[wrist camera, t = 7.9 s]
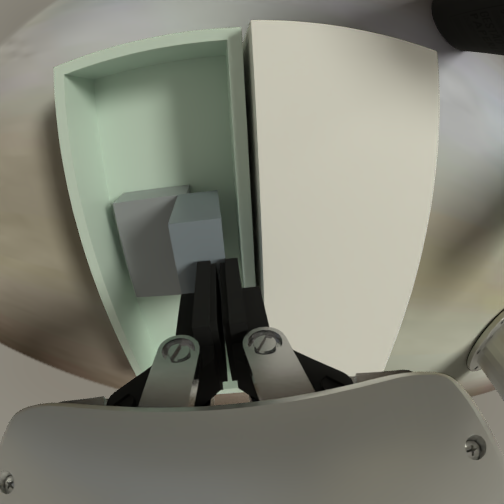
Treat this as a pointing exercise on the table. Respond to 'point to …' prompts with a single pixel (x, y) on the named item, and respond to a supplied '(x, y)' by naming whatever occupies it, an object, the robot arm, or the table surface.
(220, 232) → the slate tile
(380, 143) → the cream rectangular block
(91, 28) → the table surface
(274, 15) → the table surface
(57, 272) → the table surface
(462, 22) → the drinking cup
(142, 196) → the slate tile
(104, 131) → the box
